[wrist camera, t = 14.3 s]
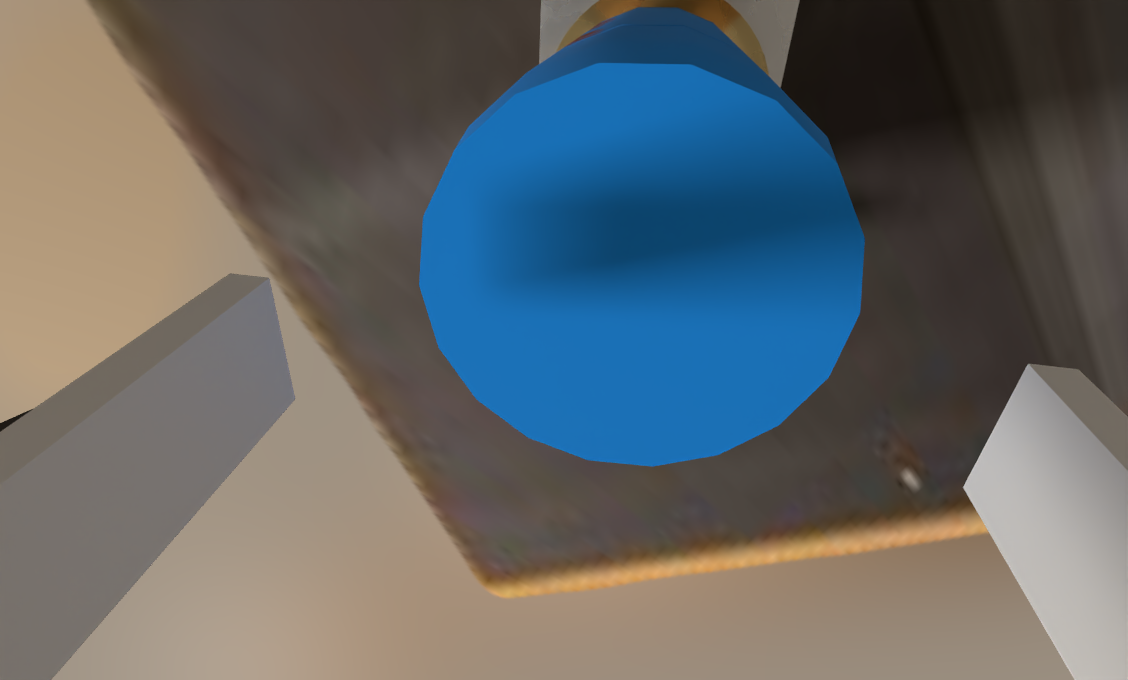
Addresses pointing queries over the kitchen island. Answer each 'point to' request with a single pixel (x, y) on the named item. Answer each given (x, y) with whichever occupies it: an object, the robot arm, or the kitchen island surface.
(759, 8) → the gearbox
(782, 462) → the kitchen island surface
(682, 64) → the thermos
